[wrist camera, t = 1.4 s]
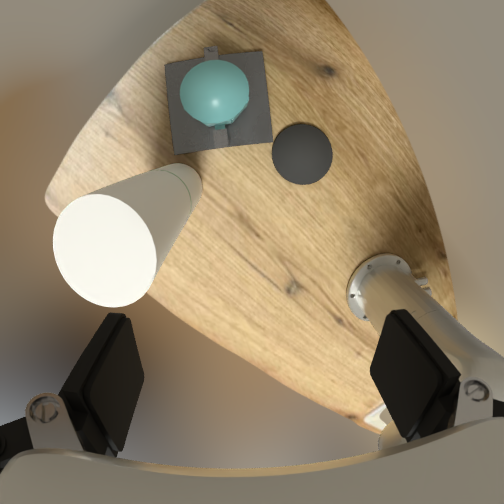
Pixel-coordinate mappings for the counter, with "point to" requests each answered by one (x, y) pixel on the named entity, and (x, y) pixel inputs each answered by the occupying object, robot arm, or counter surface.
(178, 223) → the cylindrical container
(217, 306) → the counter surface
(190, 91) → the cap
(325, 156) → the coaster
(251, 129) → the grey square base plate
